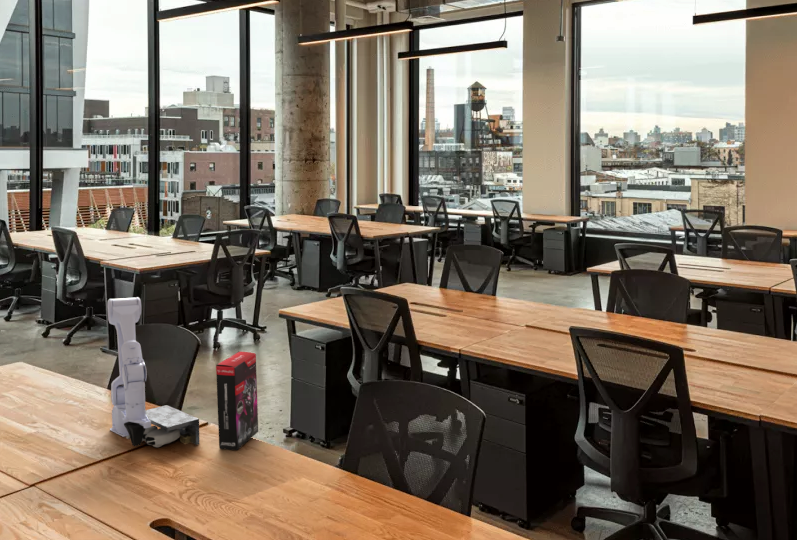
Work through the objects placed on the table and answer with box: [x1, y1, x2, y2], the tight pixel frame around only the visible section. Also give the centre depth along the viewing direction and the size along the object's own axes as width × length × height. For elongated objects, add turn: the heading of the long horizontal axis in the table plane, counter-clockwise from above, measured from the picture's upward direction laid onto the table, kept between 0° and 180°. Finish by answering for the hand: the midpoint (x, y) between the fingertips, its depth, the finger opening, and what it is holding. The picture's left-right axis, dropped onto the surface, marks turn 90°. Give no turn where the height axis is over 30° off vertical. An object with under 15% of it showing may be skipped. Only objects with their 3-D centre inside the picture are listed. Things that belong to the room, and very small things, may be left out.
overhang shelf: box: [145, 404, 201, 446], centre depth 237 cm, size 19×11×8 cm, turn 48°
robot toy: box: [125, 425, 185, 448], centre depth 236 cm, size 12×4×15 cm
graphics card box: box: [215, 350, 259, 451], centre depth 237 cm, size 17×7×27 cm, turn 168°
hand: (136, 445), depth 230 cm, fingers closed
